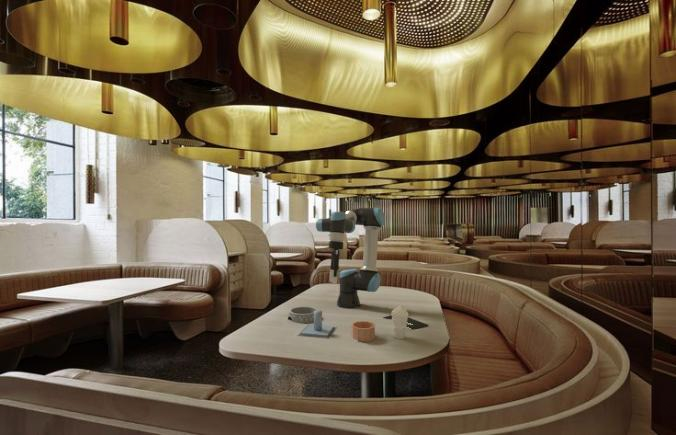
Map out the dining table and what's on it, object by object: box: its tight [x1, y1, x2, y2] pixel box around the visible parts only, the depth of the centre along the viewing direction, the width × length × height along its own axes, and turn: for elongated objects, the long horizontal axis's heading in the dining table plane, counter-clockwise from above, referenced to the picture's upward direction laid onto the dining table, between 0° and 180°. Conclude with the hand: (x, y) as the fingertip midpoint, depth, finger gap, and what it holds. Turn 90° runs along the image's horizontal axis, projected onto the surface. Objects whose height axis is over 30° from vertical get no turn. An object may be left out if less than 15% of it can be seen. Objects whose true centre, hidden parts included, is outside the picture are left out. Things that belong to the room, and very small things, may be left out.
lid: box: [301, 309, 335, 337], centre depth 161 cm, size 13×13×10 cm
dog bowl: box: [287, 305, 319, 324], centre depth 183 cm, size 17×18×5 cm
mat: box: [297, 324, 338, 340], centre depth 161 cm, size 16×16×1 cm
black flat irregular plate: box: [382, 314, 430, 331], centre depth 178 cm, size 25×1×15 cm
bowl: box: [350, 320, 376, 343], centre depth 155 cm, size 11×11×6 cm
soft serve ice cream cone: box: [390, 303, 409, 340], centre depth 155 cm, size 8×8×16 cm
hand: (333, 282), depth 166 cm, fingers open, 13 cm apart
